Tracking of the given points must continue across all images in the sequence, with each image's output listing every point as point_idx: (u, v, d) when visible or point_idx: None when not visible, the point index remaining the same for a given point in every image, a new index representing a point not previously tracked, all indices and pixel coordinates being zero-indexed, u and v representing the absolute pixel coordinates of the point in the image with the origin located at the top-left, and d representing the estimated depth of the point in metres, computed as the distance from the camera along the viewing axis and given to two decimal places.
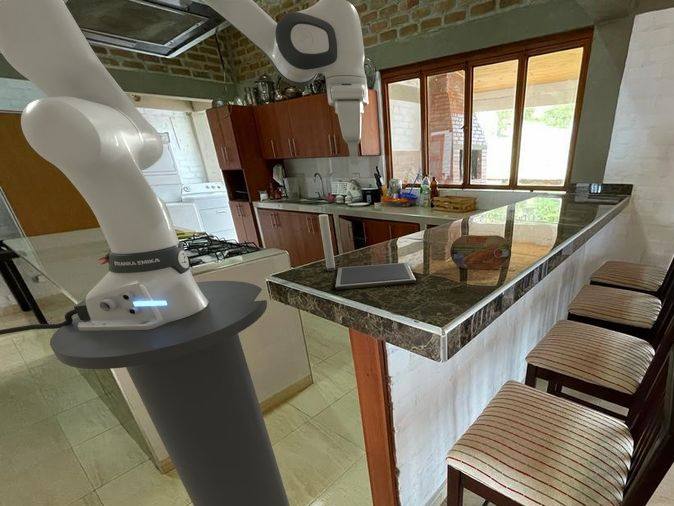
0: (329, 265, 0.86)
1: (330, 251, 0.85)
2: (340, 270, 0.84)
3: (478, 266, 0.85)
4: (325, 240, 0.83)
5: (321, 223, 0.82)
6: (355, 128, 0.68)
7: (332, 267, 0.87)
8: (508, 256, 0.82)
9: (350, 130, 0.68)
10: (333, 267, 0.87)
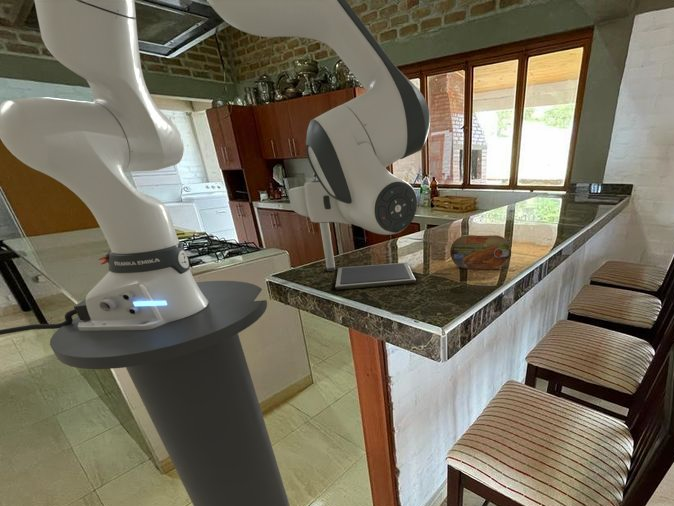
0: (329, 265, 0.86)
1: (330, 251, 0.85)
2: (340, 270, 0.84)
3: (478, 266, 0.85)
4: (325, 240, 0.83)
5: (321, 223, 0.82)
6: (292, 205, 0.60)
7: (332, 267, 0.87)
8: (508, 256, 0.82)
9: (290, 199, 0.60)
10: (333, 267, 0.87)
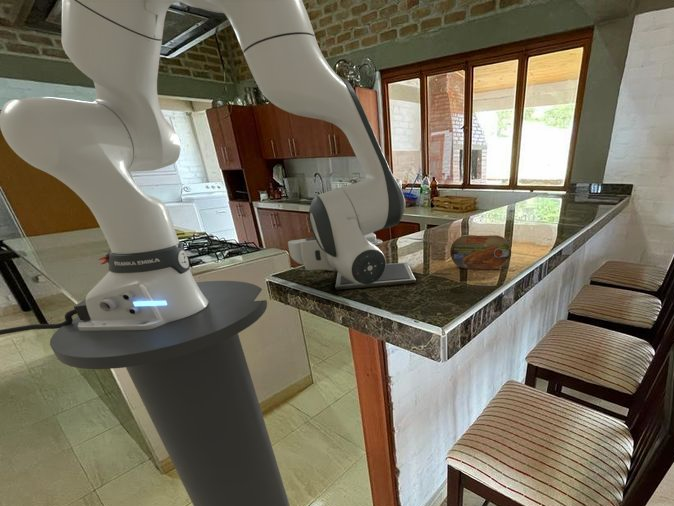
0: None
1: None
2: None
3: (478, 266, 0.85)
4: None
5: None
6: (290, 254, 0.76)
7: None
8: (508, 256, 0.82)
9: (289, 249, 0.75)
10: None
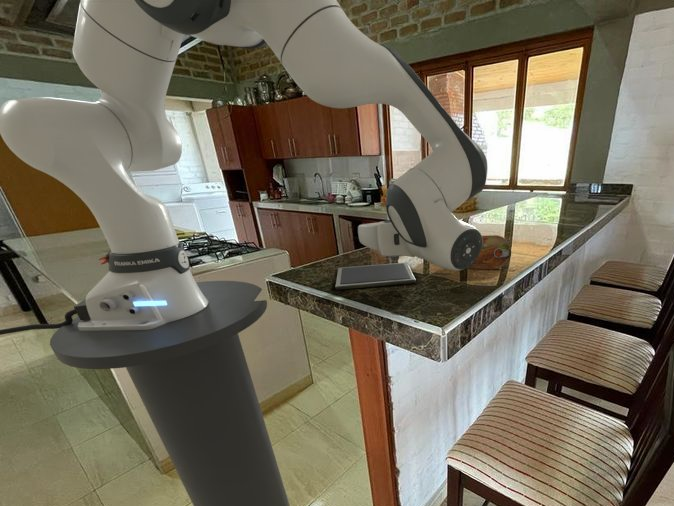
0: None
1: None
2: (340, 270, 0.84)
3: (478, 266, 0.85)
4: None
5: None
6: (361, 239, 0.69)
7: None
8: (508, 256, 0.82)
9: (359, 234, 0.68)
10: None
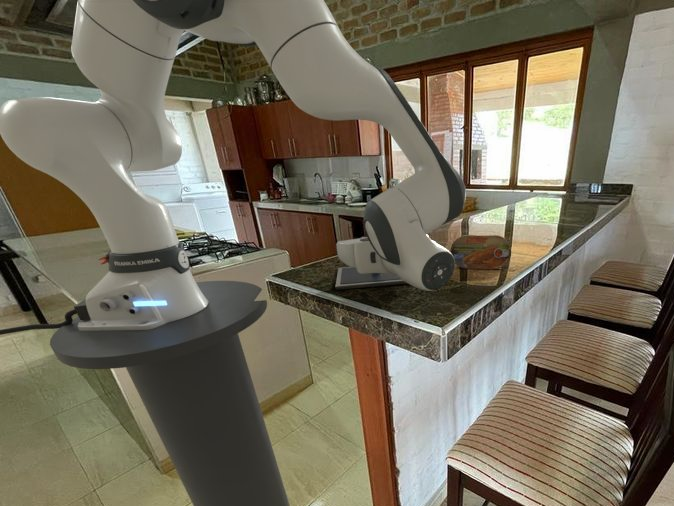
0: None
1: None
2: (340, 270, 0.84)
3: (478, 266, 0.85)
4: None
5: None
6: (339, 256, 0.69)
7: None
8: (508, 256, 0.82)
9: (338, 250, 0.69)
10: None
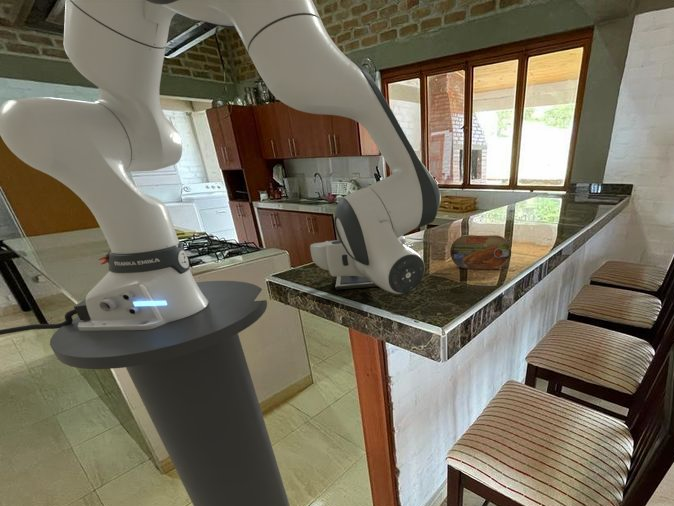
0: None
1: None
2: None
3: (478, 266, 0.85)
4: None
5: None
6: (313, 258, 0.69)
7: None
8: (508, 256, 0.82)
9: (312, 253, 0.68)
10: None
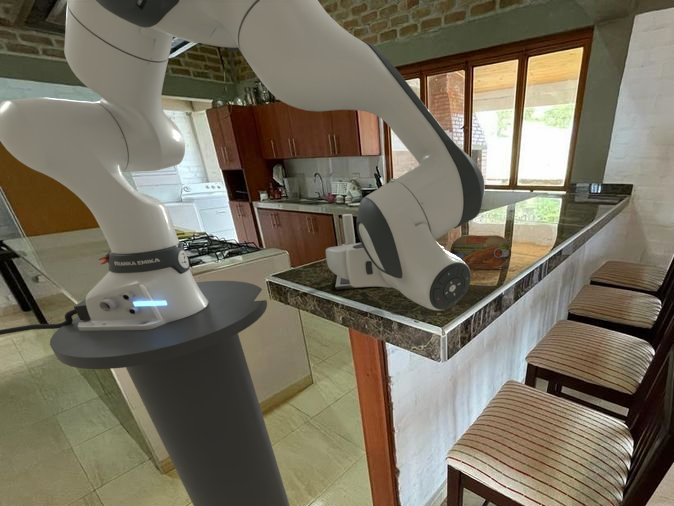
0: None
1: None
2: None
3: (478, 266, 0.85)
4: (349, 242, 0.76)
5: (345, 223, 0.74)
6: (329, 265, 0.58)
7: None
8: (508, 256, 0.82)
9: (327, 259, 0.58)
10: None
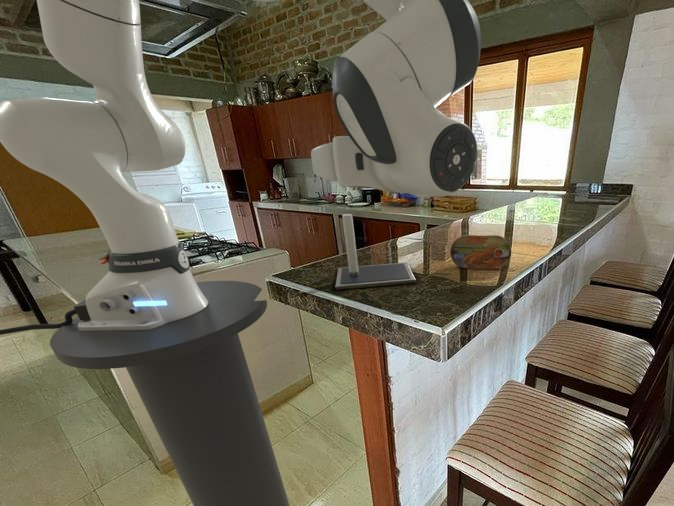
0: (352, 269, 0.79)
1: (354, 254, 0.78)
2: (340, 270, 0.84)
3: (478, 266, 0.85)
4: (349, 242, 0.76)
5: (345, 223, 0.74)
6: (315, 169, 0.51)
7: (355, 271, 0.79)
8: (508, 256, 0.82)
9: (313, 161, 0.51)
10: (356, 271, 0.80)
